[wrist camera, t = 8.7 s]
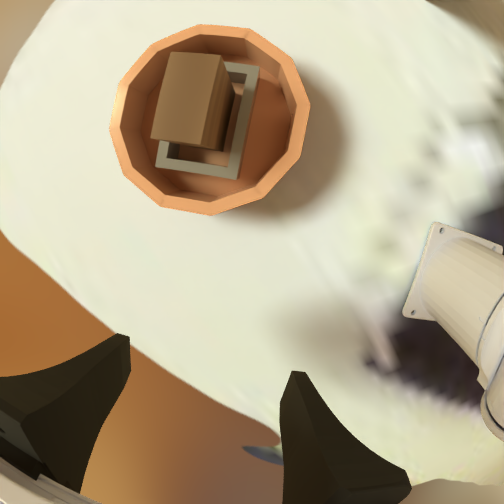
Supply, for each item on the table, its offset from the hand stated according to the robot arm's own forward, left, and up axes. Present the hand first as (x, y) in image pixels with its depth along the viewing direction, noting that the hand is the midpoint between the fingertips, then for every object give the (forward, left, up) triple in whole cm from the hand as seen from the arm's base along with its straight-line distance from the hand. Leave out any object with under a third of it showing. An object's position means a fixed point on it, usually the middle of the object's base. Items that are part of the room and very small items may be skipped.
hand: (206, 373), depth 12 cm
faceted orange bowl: (+3, -11, -10) cm, 15 cm away
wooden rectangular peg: (+3, -11, -9) cm, 15 cm away
